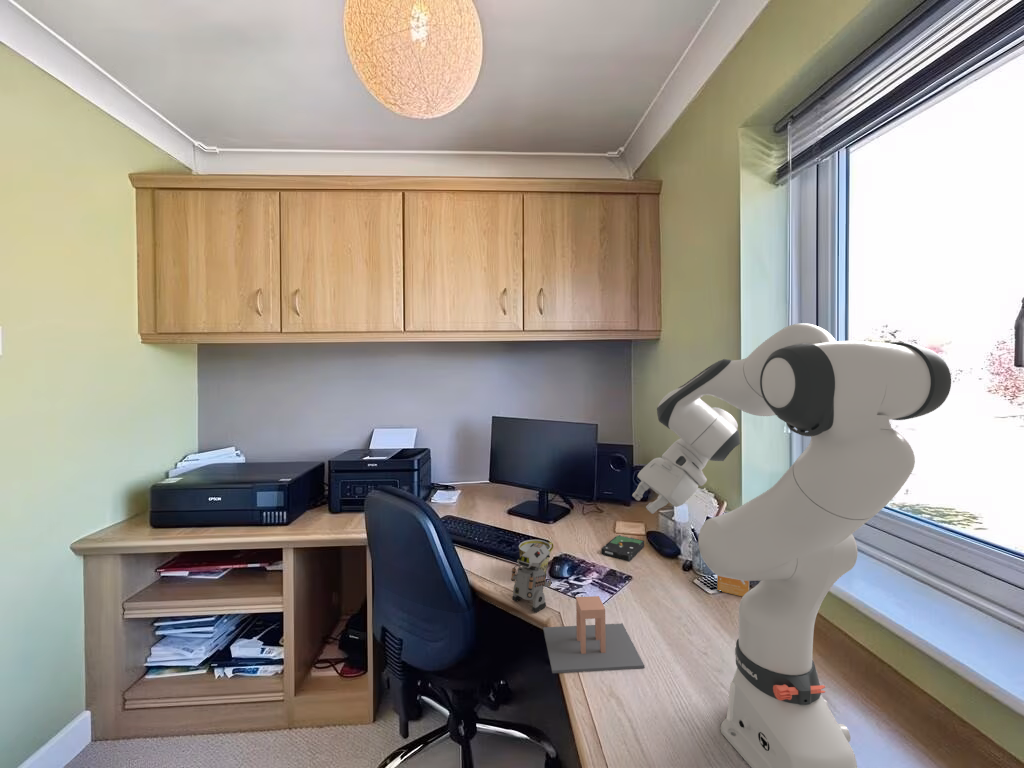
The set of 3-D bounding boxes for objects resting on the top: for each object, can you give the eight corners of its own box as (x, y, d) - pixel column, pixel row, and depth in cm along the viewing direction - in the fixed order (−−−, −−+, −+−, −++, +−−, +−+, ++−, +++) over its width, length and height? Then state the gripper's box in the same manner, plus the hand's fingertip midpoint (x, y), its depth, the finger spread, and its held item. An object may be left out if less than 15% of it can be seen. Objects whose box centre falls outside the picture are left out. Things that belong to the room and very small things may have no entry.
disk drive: (630, 564, 140) (644, 547, 152) (630, 555, 140) (644, 540, 152) (600, 556, 147) (617, 541, 159) (600, 548, 146) (617, 533, 158)
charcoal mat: (644, 668, 91) (644, 665, 91) (552, 673, 90) (552, 670, 90) (622, 625, 106) (622, 623, 106) (543, 629, 105) (543, 627, 105)
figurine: (559, 599, 119) (559, 547, 118) (531, 616, 111) (530, 560, 110) (536, 587, 125) (535, 537, 125) (507, 602, 117) (506, 549, 117)
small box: (717, 591, 121) (717, 547, 121) (718, 581, 127) (718, 538, 126) (749, 598, 117) (749, 552, 117) (749, 588, 123) (749, 544, 122)
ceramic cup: (534, 589, 124) (533, 556, 124) (512, 577, 132) (511, 545, 131) (564, 575, 132) (564, 543, 132) (542, 564, 140) (542, 534, 140)
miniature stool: (605, 652, 95) (605, 609, 95) (581, 653, 95) (581, 610, 95) (599, 637, 101) (599, 596, 100) (576, 638, 101) (576, 597, 100)
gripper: (654, 446, 113) (619, 483, 113) (691, 464, 93) (648, 509, 93) (671, 462, 114) (635, 499, 114) (711, 483, 93) (667, 528, 93)
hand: (641, 504), depth 103 cm, fingers open, 8 cm apart
